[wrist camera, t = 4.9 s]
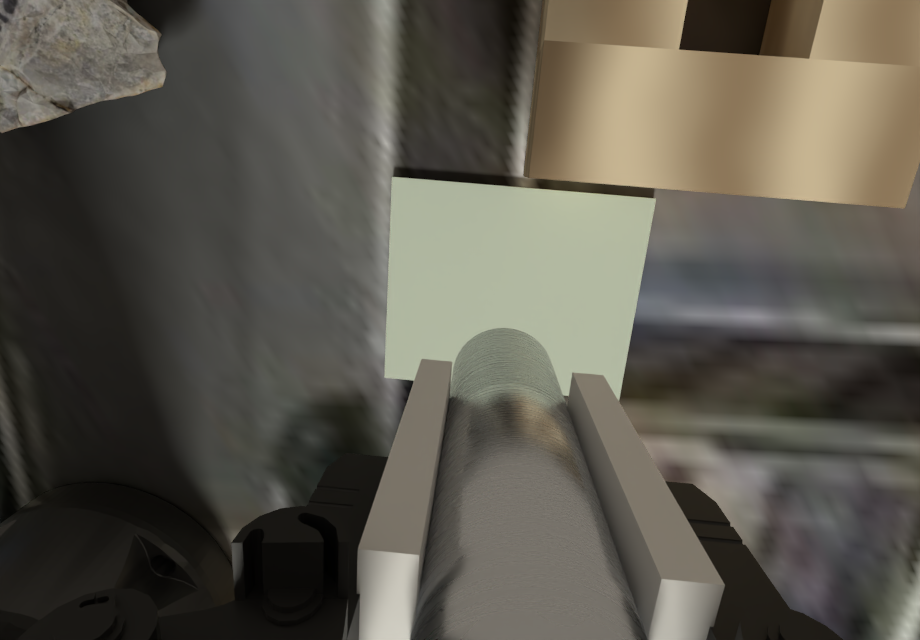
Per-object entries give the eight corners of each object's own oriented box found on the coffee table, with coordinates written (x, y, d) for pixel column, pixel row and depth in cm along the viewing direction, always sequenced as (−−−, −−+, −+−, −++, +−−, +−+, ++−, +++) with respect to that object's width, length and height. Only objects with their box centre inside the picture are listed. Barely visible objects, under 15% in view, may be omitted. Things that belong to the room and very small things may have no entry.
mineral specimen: (133, 12, 27) (131, 200, 27) (-88, -62, 22) (-90, 170, 22) (169, -102, 20) (166, 156, 20) (-151, -253, 15) (-155, 97, 15)
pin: (449, 416, 16) (393, 796, 6) (456, 323, 15) (406, 597, 5) (546, 425, 16) (641, 824, 6) (559, 332, 15) (696, 627, 5)
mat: (386, 374, 27) (384, 377, 26) (393, 176, 24) (391, 176, 23) (617, 397, 26) (618, 400, 26) (653, 198, 23) (656, 198, 23)
